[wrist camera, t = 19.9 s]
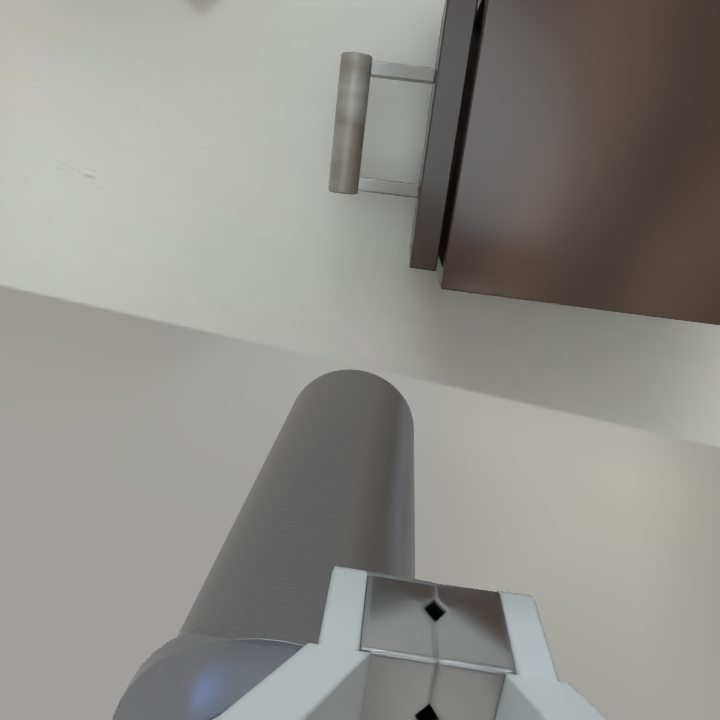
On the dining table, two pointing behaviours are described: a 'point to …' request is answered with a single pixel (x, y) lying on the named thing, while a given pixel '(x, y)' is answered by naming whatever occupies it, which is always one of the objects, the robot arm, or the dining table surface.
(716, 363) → the dining table surface
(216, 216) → the dining table surface
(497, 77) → the cabinet
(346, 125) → the drawer
